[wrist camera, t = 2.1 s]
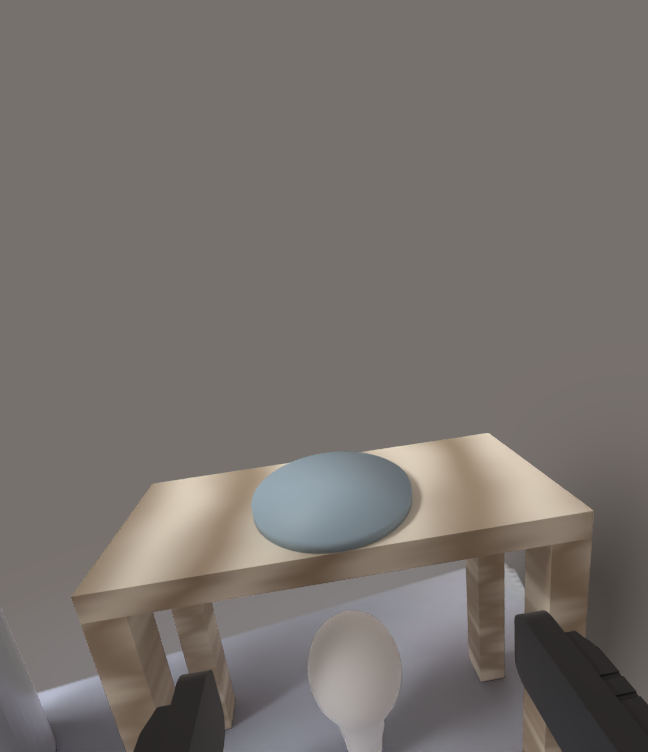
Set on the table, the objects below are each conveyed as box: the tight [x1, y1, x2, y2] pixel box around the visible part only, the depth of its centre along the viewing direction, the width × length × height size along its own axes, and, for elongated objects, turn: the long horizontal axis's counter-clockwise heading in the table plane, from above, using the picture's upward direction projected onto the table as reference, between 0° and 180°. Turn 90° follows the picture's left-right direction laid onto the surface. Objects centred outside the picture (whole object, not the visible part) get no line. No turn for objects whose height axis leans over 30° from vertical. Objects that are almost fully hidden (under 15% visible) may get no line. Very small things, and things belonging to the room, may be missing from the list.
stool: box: [71, 433, 594, 752], centre depth 23 cm, size 24×10×21 cm, turn 95°
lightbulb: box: [308, 610, 402, 752], centre depth 24 cm, size 6×6×11 cm
